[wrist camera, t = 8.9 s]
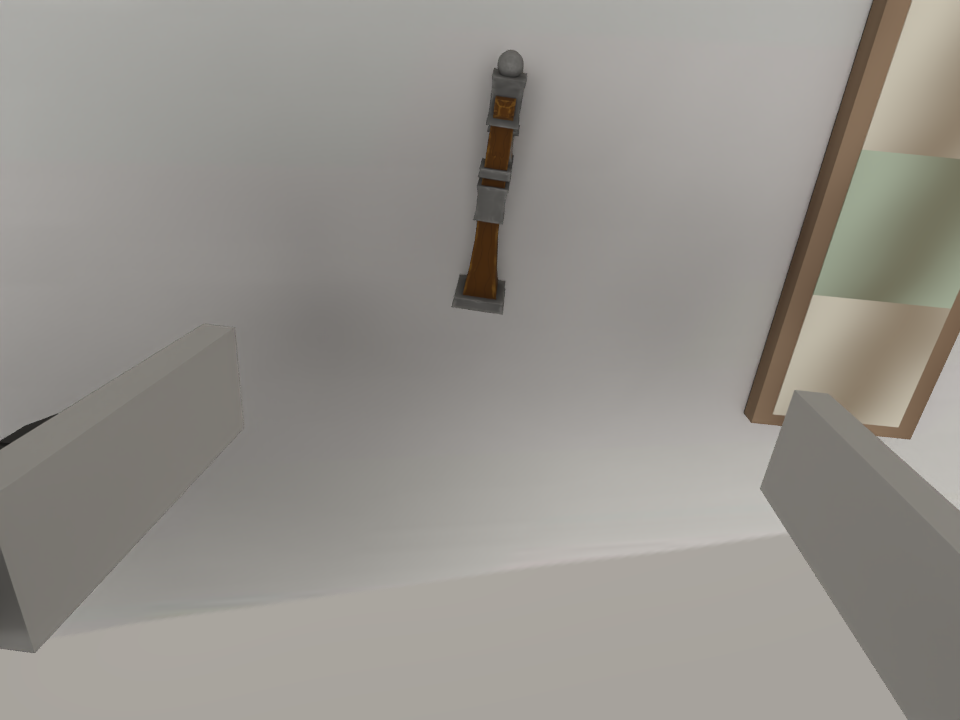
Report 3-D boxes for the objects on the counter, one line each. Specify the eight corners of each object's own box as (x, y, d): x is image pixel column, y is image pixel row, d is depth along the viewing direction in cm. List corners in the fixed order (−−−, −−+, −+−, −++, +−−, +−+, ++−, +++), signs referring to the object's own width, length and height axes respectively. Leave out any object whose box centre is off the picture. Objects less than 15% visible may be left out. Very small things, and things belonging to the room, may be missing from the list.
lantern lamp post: (501, 317, 19) (545, 60, 14) (450, 310, 19) (476, 50, 14) (508, 259, 23) (545, 37, 18) (465, 252, 23) (490, 29, 18)
